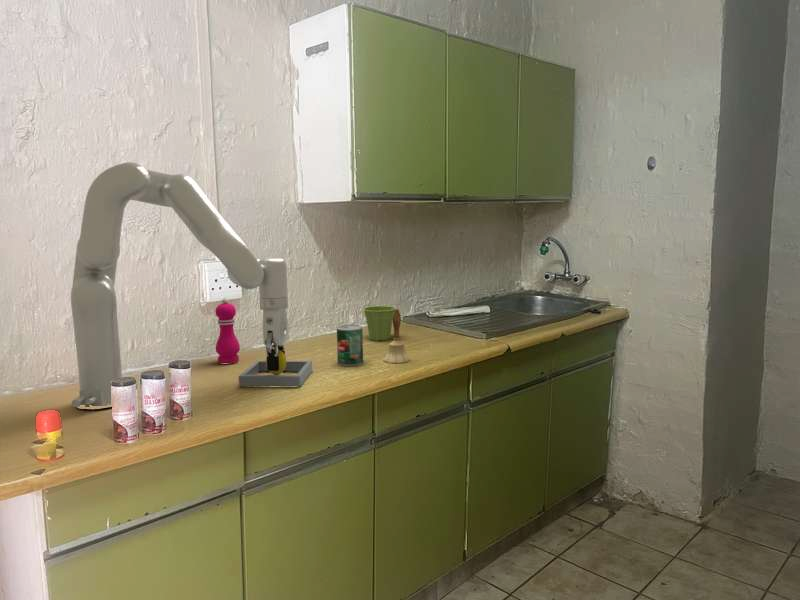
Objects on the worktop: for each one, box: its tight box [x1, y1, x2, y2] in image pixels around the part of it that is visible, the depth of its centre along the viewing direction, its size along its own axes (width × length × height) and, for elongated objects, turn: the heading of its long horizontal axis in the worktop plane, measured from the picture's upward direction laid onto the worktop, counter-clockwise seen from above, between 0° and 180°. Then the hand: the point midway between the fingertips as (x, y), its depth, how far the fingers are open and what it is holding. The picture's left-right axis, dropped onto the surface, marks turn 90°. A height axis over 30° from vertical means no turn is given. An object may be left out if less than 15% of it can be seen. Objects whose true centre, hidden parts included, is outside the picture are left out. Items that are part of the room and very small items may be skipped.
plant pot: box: [362, 305, 397, 342], centre depth 219 cm, size 12×12×11 cm
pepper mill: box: [215, 297, 241, 364], centre depth 189 cm, size 7×7×20 cm
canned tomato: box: [336, 324, 364, 367], centre depth 187 cm, size 8×8×11 cm
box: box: [238, 360, 313, 387], centre depth 171 cm, size 16×16×3 cm
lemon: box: [265, 348, 287, 375], centre depth 170 cm, size 6×6×8 cm
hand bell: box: [383, 308, 411, 364], centre depth 189 cm, size 8×8×16 cm
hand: (276, 366), depth 171 cm, fingers open, 5 cm apart
